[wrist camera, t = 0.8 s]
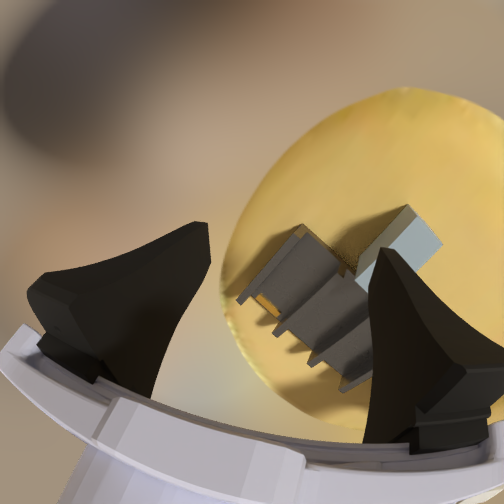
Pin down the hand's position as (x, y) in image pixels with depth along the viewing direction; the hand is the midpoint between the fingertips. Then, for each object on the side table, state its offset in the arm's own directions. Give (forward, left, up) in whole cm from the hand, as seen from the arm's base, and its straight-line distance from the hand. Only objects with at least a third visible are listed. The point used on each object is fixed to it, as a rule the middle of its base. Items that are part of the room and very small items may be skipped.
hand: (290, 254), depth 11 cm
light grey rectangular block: (-6, -1, -16) cm, 17 cm away
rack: (-7, +9, -16) cm, 19 cm away
